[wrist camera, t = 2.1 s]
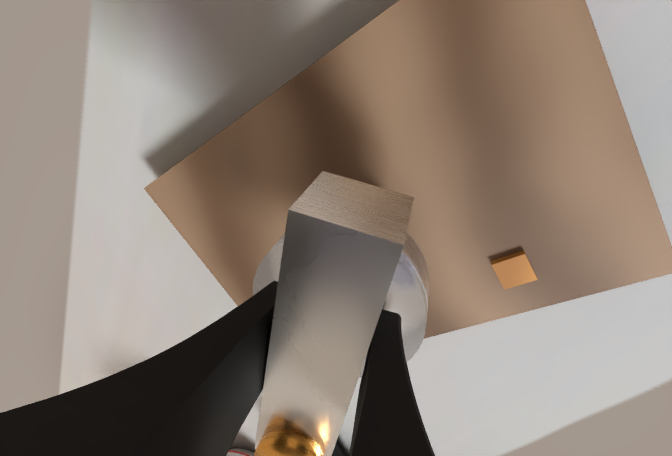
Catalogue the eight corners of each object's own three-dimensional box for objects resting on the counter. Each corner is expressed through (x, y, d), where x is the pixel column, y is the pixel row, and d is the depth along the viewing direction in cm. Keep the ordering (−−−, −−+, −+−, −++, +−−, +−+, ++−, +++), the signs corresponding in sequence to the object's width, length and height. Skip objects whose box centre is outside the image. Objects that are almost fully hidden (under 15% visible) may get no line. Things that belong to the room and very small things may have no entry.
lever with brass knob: (292, 135, 11) (199, 199, 7) (474, 185, 11) (490, 290, 6) (266, 338, 16) (199, 450, 12) (390, 383, 15) (368, 520, 11)
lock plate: (536, -94, 12) (593, -175, 7) (661, 251, 16) (751, 346, 11) (162, 178, 21) (79, 221, 16) (299, 355, 25) (264, 431, 20)
